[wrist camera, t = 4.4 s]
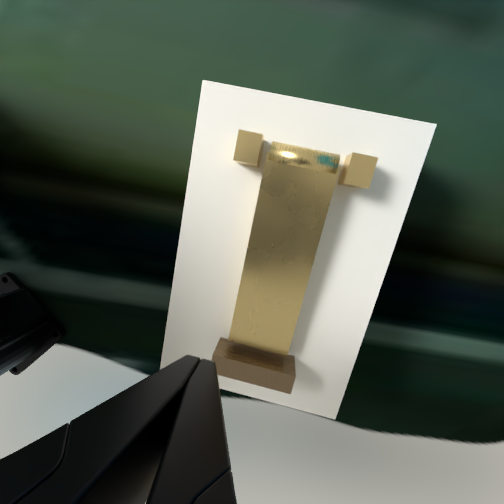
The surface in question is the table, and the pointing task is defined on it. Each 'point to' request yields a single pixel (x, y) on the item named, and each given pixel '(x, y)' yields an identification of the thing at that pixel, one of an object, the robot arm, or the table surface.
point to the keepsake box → (328, 252)
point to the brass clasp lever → (282, 244)
